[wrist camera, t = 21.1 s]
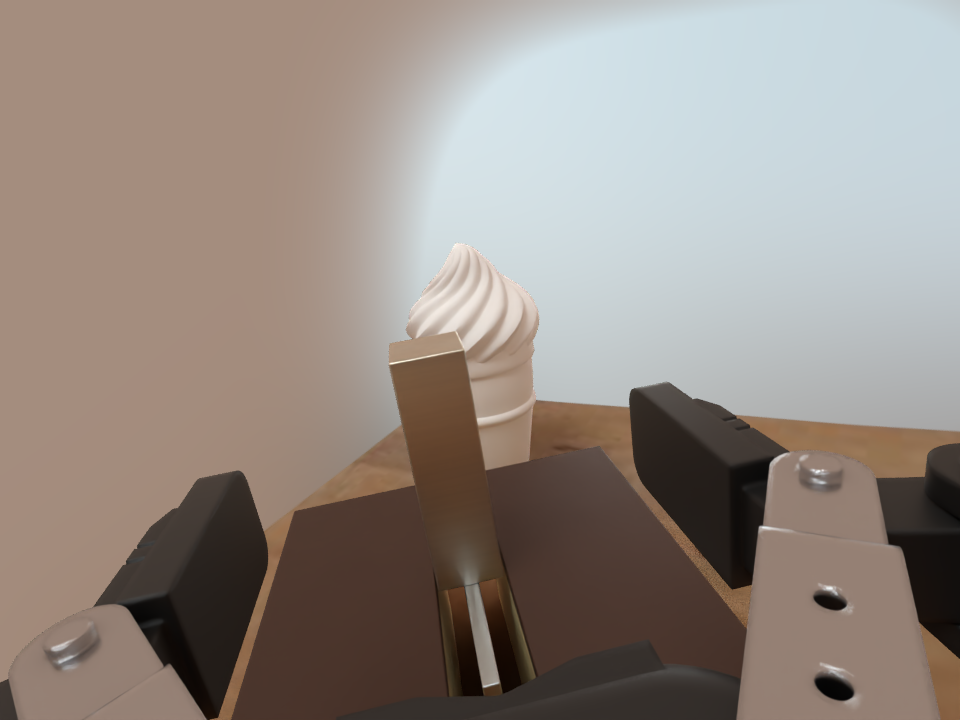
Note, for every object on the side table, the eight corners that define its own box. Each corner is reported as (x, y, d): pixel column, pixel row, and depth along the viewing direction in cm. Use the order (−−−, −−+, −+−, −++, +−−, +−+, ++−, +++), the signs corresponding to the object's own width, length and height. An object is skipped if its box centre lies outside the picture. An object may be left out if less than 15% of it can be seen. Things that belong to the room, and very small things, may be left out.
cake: (868, 1018, 13) (893, 810, 11) (251, 1223, 12) (134, 1033, 9) (611, 569, 28) (599, 445, 26) (331, 635, 27) (293, 510, 24)
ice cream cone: (439, 455, 42) (397, 244, 37) (547, 437, 42) (519, 224, 37) (437, 519, 34) (383, 262, 29) (570, 497, 34) (539, 237, 29)
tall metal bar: (560, 850, 17) (486, 397, 12) (490, 870, 17) (386, 417, 12) (500, 612, 26) (445, 305, 22) (455, 623, 26) (389, 316, 21)
